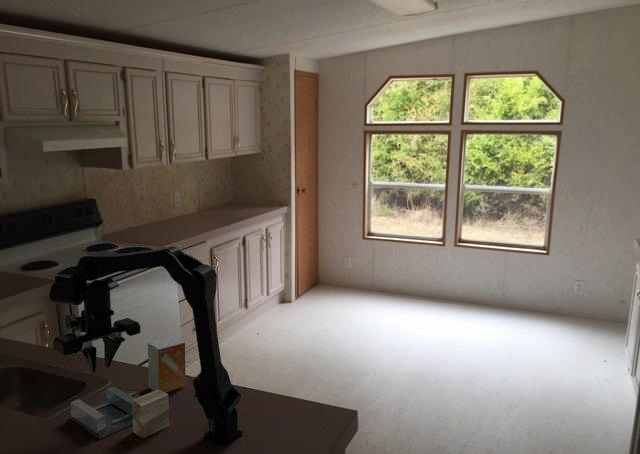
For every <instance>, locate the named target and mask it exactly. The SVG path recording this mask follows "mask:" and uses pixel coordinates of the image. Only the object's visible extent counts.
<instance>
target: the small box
mask: <svg viewBox="0 0 640 454" xmlns="http://www.w3.org/2000/svg"><path fill="white" fill-rule="evenodd" d="M147 354H148V355H147V357H148V359H147V363H148V368H147V369H148V371H147V372H148V373H147V374H148V388H149V389H150V390H152V392H153V391H156V390H158V389H159V390H161V391H163V392H165V393H167V394H168V393H169V392H173V391H175V390H178V389H182V388H185V387H186V341H183V340H181V339H180V338H178V337H177V336H175V335H174V336H171V337H167V338H162V339H157V340H154V341H152V342H151V341H149V342H148V343H147Z"/></svg>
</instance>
